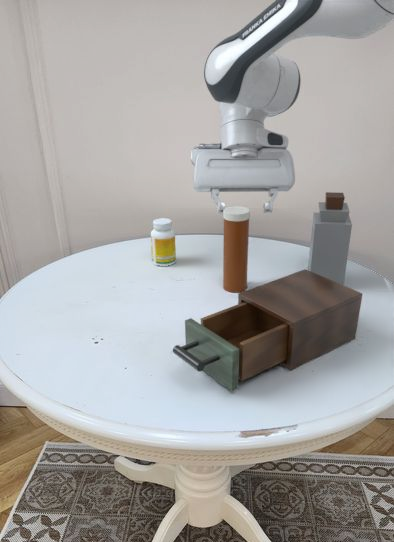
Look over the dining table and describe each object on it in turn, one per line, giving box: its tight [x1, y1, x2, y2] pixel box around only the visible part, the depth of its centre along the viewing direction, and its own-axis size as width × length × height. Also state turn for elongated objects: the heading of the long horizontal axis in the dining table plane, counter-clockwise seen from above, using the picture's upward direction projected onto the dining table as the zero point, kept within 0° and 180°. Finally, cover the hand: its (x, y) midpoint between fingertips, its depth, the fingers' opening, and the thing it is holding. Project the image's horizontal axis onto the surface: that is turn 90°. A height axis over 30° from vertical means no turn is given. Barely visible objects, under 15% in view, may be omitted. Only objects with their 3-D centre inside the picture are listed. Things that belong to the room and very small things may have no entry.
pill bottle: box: [222, 205, 251, 293], centre depth 104 cm, size 5×5×16 cm
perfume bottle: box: [307, 191, 353, 286], centre depth 105 cm, size 7×7×18 cm
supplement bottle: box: [150, 217, 177, 267], centre depth 118 cm, size 5×5×10 cm
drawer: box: [172, 302, 290, 392], centre depth 82 cm, size 19×11×7 cm, turn 127°
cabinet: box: [237, 268, 363, 372], centre depth 89 cm, size 16×13×9 cm
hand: (244, 212), depth 106 cm, fingers open, 8 cm apart
